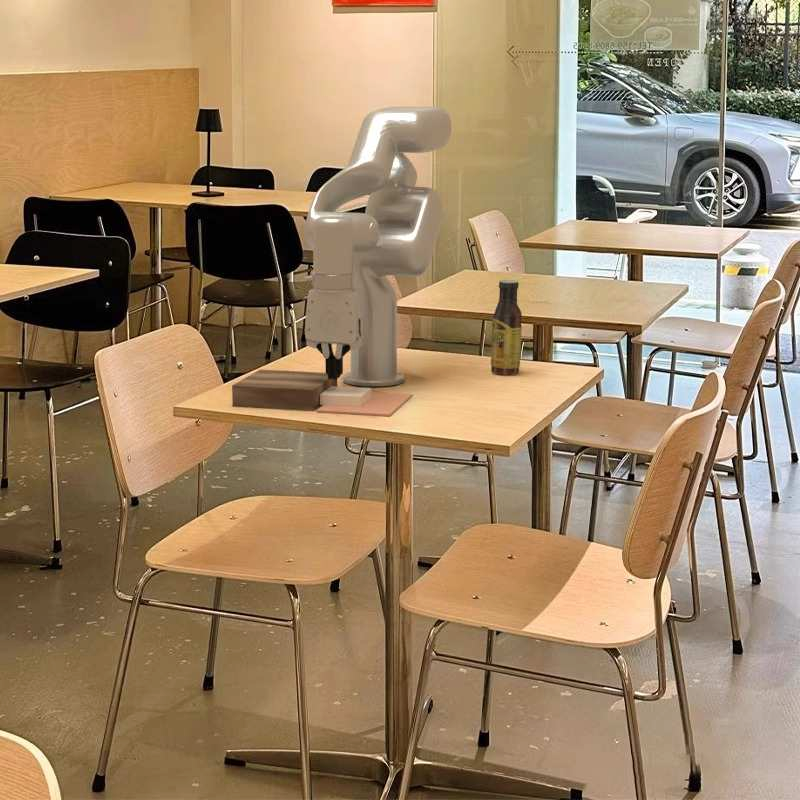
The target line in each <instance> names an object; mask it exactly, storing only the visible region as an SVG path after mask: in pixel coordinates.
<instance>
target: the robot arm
mask: <svg viewBox="0 0 800 800" xmlns="http://www.w3.org/2000/svg"><path fill="white" fill-rule="evenodd" d="M451 135H452V119H451V116H450V115H449V113H448V111H447V110H446V109H445V108H443V107H440V106H390V107H389V106H388V107H383V108H380V109H377V110H374V111H372V112H371V111H370V112H369V113H368V114H367V115H366V116H365V117H364V118H363V120H362V123H361V126H360V128H359V131H358V134H357V137H356V140H355V143H354V146H353V149H352V152H351V154H350V158H349V160H348V164H347V166H345V167H344V168H343V169H342V170H340V171H339V172H337V173H336V174H335V175H333V176H332V177H331V178H330V179H328V180H327V181H326V182H325V183H324V184H323V185H321V187H319V189H318V190H317V192H316V193H315V195H314V197H313V199H312V202H311V203H310V207H309V210H308V214H307V215H306V216H307V217H306V218H305V219H306V221H305V226H304V238H305V241H306V243H307V245H308V246H309V247H310V248H312V251H313V253H312V254H313V255H312V257H313V258H312V260H313V264H312V265H313V273H312V274H310V275H307V276H306V278H305V279H306V283H309V284H311V285H312V287H313V288H311V289H309V291H308V295H307V302H306V310H305V322H304V325H305V326H304V335H305V339H306V344H305V345H306V346H307V347H308V348H309V347H310V348H312V349H315V350H316V349H317V350H318V352H320V354H322V356H323V358H324V359H325V362H324V363H325V373H326V374H328V379H332V378H333V379H335V380H336V379H337V380H338V379H340V378H341V375H343V377H342V378H343V380H342V381H343V382H344V383H346V384H348V385H351V386H355V387H356V386H358V387H366V388H372V387H376V388H377V387H389V386H395V385H399V384H402V383H404V381H405V375H404V373H402V372H398V297H397V294H396V290H395V288H394V286H393V285H392V283H391V282H390V280H389V278H388V277H387V276H392V277H393V276H394V277H397V276H399V277H420V276H422V275H424V274H425V273H426V272H427V271H428V269H429V267H430V265H431V261H432V257H433V255H434V252H435V248H436V244H437V240H438V237H439V235H440V231H441V226H442V222H443V218H444V216H443V214H444V206H443V200H442V197H441V195H440V193H439V192H438V191H437V190H436V189H434V188H431V187H429V186H428V187H427V186H416V185H417V180H418V172H417V170H416V168H415V166H414V164H413V163H412V161H411V160H410V158H408V156H407V155H406V154H407V153H409V154H411V153H412V154H414V153H415V154H418V153H419V154H422V153H423V154H425V153H430V152H433V151H434V152H435V151H436V150H440V149H442V148H444V147H445V146H446V145H447V144H448V142H449V141H450V137H451ZM405 153H406V154H405ZM365 196H368V198H367V199H368V200H367V202H366V206H365V212H364V213H363V212H348V211H347V212H346V211H337V210H338V209H339V208H340V207H342V206H343V205H345V204H347V203H349V202H351V201H354V200H357V199H360V198H363V197H365ZM333 344H335V345H336V347H335V353H334V350H333ZM348 352H350V372H349V371H348V372H347V373H344V374H343V371H344V364H343V363H344V357H345V356H346V355H347V353H348Z"/></svg>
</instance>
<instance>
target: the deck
mask: <svg viewBox="0 0 800 800" xmlns="http://www.w3.org/2000/svg"><path fill="white" fill-rule="evenodd" d="M331 386H338V379H336V380H335V379H333V378H332V379H328V374H326V372H320V371H319V372H317V371H316V372H315V371H314V372H313V371H295V370H280V369H279V370H277V369H259V370H257V371H256V372H254V373H251V374H250V375H248V376H246V377H245V378H243V379H241V380H239V381H237V382H236V383H233V384H232V385H231V390H232V391H231V393H232V395H231V396H232V397H231V400H232V407H243V408H259V409H274V410H275V409H276V410H294V411H295V410H296V411H308V412H309V411H312V412H314V411H316V410H317V409H319V408H320V407H322V405H320V394H321V393H323V392H324V391H325V390H327V389H328V388H329V387H331Z"/></svg>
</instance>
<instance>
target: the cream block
mask: <svg viewBox="0 0 800 800" xmlns="http://www.w3.org/2000/svg"><path fill="white" fill-rule="evenodd" d="M371 392H372V387H360V386H358V387H356V386H338V385H337V386H331V387H329V388H328V389H327V390H325V391H324V392H323V393H321V394H320V405H321V406H323V405H330V406H349V407H362V406H363V405H364V404H365V403H366V402H367V401H369V400H370V399H371Z"/></svg>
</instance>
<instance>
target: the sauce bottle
mask: <svg viewBox="0 0 800 800" xmlns="http://www.w3.org/2000/svg"><path fill="white" fill-rule="evenodd" d="M498 288H499V292H498V293H499V297H498V302H497V306H496V308H495V310H494V313H493V316H492V323H491V324H492V325H491V342H490V343H491V344H490V345H491V351H490V366H491V368H490V369H491V370H490V371H491V373H492V374H495V375H498V376H515V375H518V374H519V373H520V366H521V352H522V351H521V349H522V331H523V329H522V318H523V317H522V316H523V315H522V311H521V309H520V307H519V305H518V288H519V281H518V280H514V279H501V280H499V283H498Z"/></svg>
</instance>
